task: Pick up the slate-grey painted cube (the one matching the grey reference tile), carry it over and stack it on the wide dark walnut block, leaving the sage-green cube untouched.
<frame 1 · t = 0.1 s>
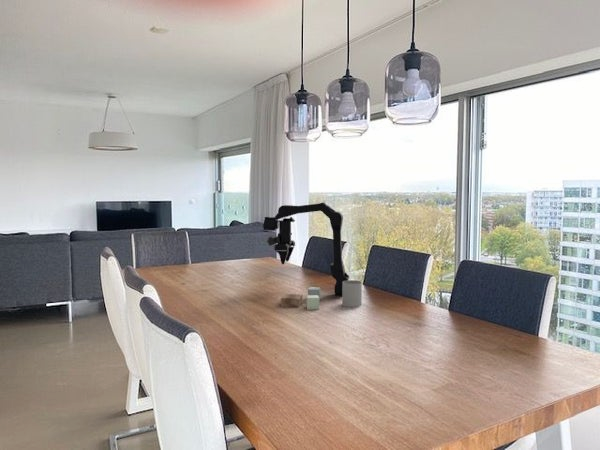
hand: (285, 262, 229), 15 cm above the table, fingers open, 9 cm apart
sage cube: (312, 308, 201), on the table
walnut base: (291, 305, 207), on the table
reference tile: (292, 298, 218), on the table
grey cube: (314, 299, 217), on the table
cup: (351, 305, 207), on the table
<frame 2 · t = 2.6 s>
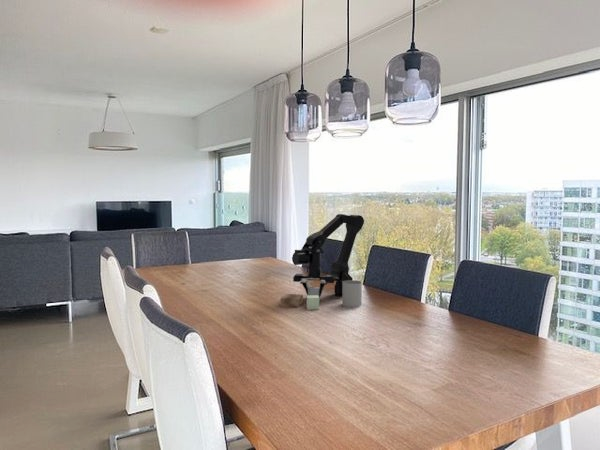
hand: (314, 296, 217), 1 cm above the table, fingers closed on grey cube, 5 cm apart
grey cube: (314, 298, 217), on the table, touching gripper
everything else where it was.
when the fingers open (6 cm above the table, at t = 5.9 s): grey cube drops 2 cm, point 4 cm above the table.
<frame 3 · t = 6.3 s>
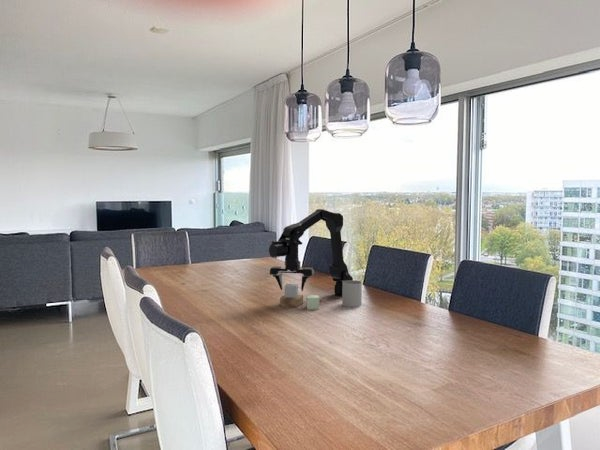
hand: (291, 290, 206), 6 cm above the table, fingers open, 9 cm apart
grey cube: (291, 296, 206), point 4 cm above the table
everything else where it was.
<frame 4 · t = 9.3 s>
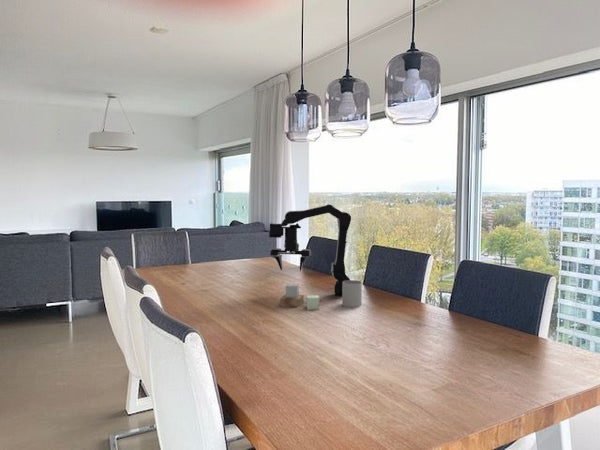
hand: (290, 270, 223), 12 cm above the table, fingers open, 9 cm apart
nothing on the table moved.
at the end: grey cube 0.3 cm off-centre on the walnut base, point 4.0 cm above the walnut base's base; grey cube tilted 0°; sage cube moved 0.1 cm from its start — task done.
